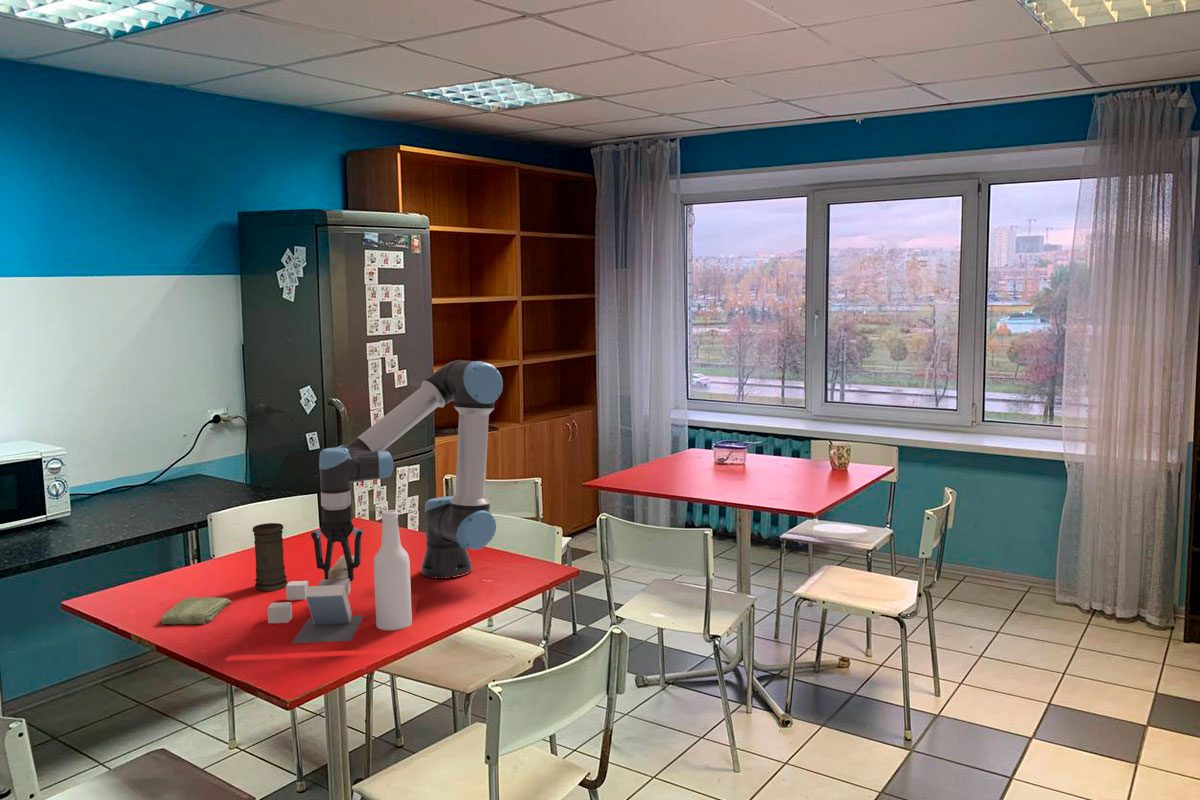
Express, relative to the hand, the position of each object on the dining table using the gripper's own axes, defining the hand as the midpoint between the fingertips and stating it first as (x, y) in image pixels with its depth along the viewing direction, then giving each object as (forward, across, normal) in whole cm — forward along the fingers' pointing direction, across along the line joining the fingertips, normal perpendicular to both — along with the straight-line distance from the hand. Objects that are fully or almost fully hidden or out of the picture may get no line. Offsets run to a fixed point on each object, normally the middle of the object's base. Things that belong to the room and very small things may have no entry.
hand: (339, 593), depth 247 cm
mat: (+5, 0, +16) cm, 16 cm away
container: (+5, +25, -25) cm, 36 cm away
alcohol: (+5, -16, +14) cm, 22 cm away
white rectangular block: (+3, 0, +11) cm, 11 cm away
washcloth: (+6, +38, -3) cm, 39 cm away
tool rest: (+5, +14, -1) cm, 15 cm away
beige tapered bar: (-4, 0, 0) cm, 4 cm away
